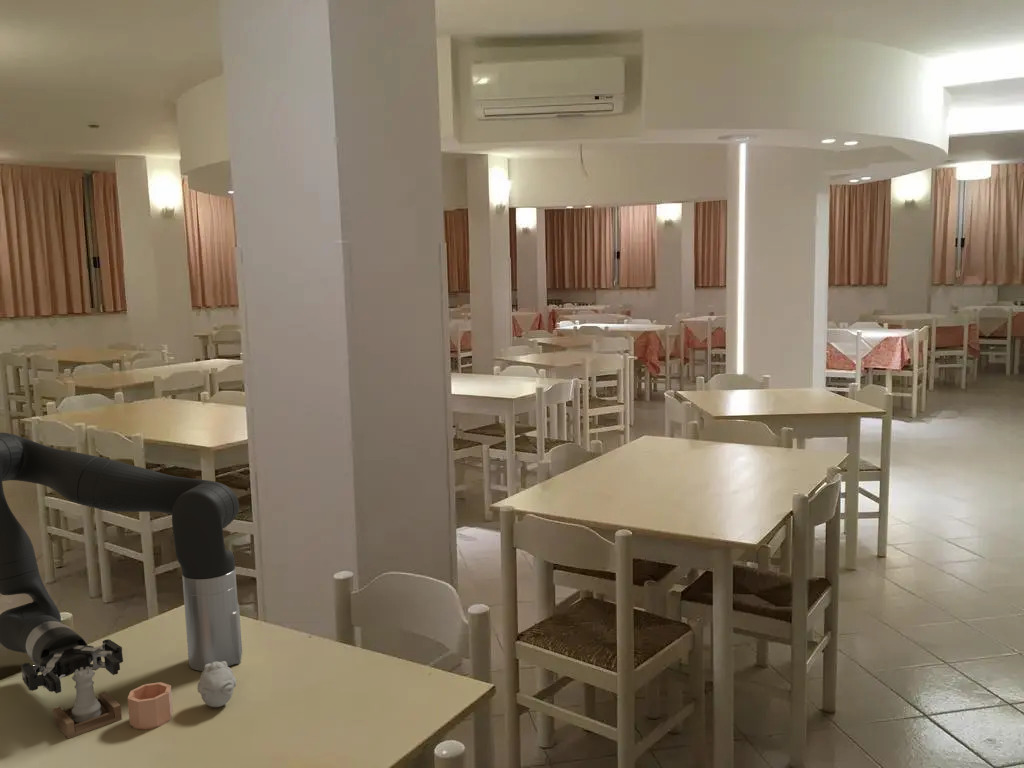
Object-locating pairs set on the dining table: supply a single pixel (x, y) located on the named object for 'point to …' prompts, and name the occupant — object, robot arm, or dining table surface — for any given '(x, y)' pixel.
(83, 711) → the rook chess piece
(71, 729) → the trough
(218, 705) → the frog figurine
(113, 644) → the robot arm
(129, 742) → the dining table surface
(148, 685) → the cup
